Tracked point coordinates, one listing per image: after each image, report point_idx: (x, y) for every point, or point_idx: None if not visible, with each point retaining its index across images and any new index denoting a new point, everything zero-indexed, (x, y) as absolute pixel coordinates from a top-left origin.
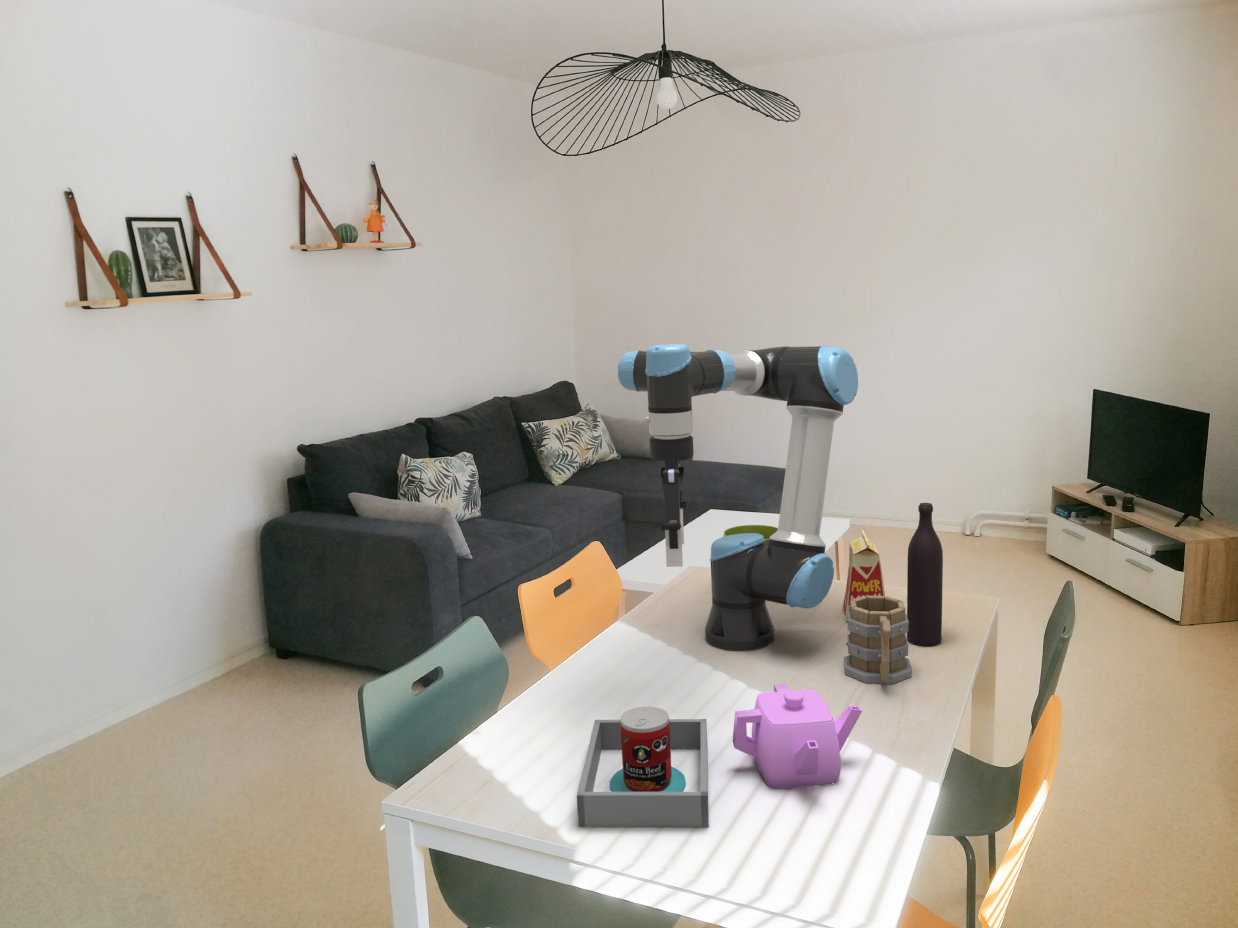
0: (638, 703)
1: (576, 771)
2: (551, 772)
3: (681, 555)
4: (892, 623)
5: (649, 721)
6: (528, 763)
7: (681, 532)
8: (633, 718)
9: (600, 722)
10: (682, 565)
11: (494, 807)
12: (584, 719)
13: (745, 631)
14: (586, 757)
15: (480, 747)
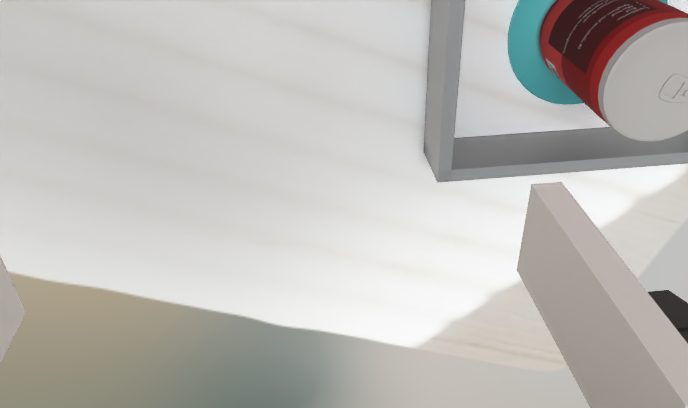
0: (208, 94)
1: None
2: (513, 207)
3: (597, 231)
4: None
5: (681, 69)
6: (477, 248)
7: (667, 365)
8: (652, 110)
9: (450, 168)
10: (561, 186)
11: None
12: (302, 194)
13: None
14: (601, 168)
15: (415, 326)
